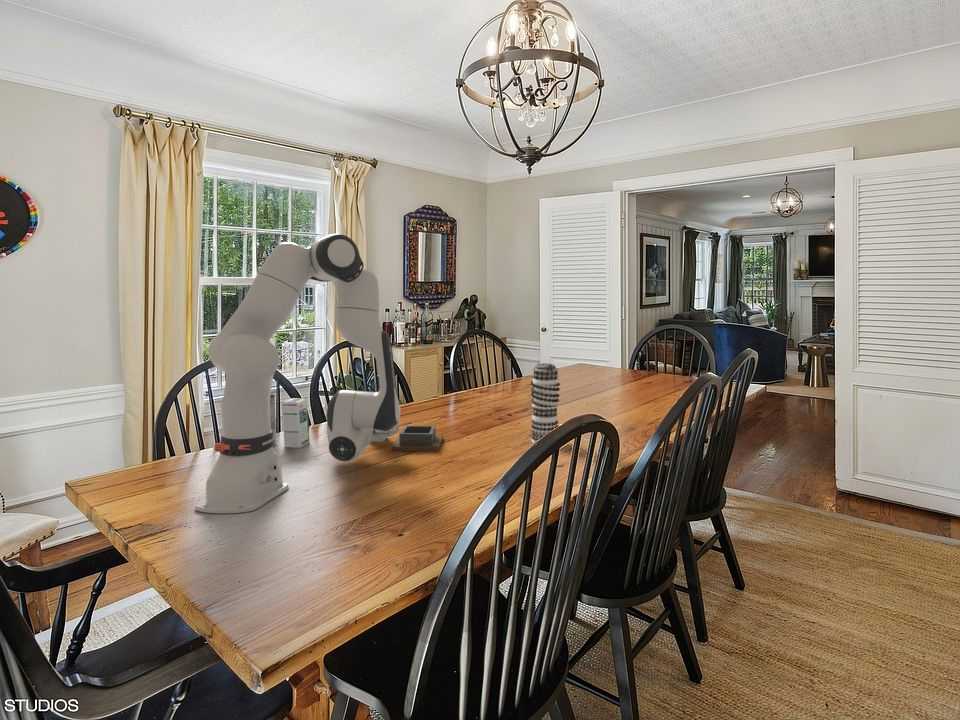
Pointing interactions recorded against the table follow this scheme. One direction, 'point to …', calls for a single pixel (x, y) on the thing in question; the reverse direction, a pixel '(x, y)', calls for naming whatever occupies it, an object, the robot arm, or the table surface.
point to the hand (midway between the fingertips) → (369, 420)
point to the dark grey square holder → (418, 439)
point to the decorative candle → (544, 400)
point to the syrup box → (295, 422)
